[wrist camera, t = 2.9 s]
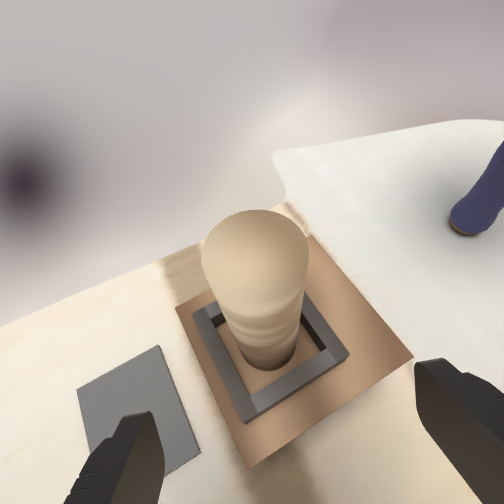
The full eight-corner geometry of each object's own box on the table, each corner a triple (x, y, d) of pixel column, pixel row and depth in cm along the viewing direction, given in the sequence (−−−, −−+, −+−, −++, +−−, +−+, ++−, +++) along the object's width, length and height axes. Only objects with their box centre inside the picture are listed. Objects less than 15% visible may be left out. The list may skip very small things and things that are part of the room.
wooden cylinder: (256, 383, 20) (231, 323, 10) (229, 331, 22) (185, 238, 12) (307, 351, 21) (331, 267, 11) (276, 304, 23) (272, 195, 13)
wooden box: (257, 462, 25) (243, 473, 16) (198, 337, 30) (166, 297, 22) (381, 378, 27) (426, 349, 19) (305, 277, 33) (313, 220, 24)
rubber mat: (107, 513, 24) (103, 514, 23) (80, 390, 29) (76, 389, 28) (200, 452, 25) (199, 453, 25) (159, 346, 30) (157, 344, 30)
